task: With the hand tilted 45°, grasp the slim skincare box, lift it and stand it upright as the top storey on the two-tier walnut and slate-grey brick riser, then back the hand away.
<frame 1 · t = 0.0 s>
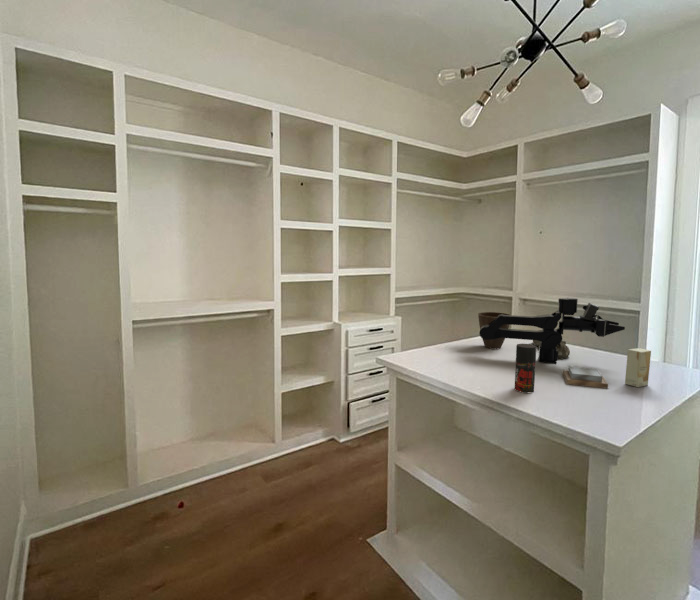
hand: (621, 326, 154), 17 cm above the table, tool horizontal, fingers open, 9 cm apart
skincare box: (636, 385, 136), on the table
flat: (550, 350, 185), on the table
deodorant: (524, 390, 131), on the table
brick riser: (584, 380, 140), on the table
plant pot: (493, 347, 191), on the table
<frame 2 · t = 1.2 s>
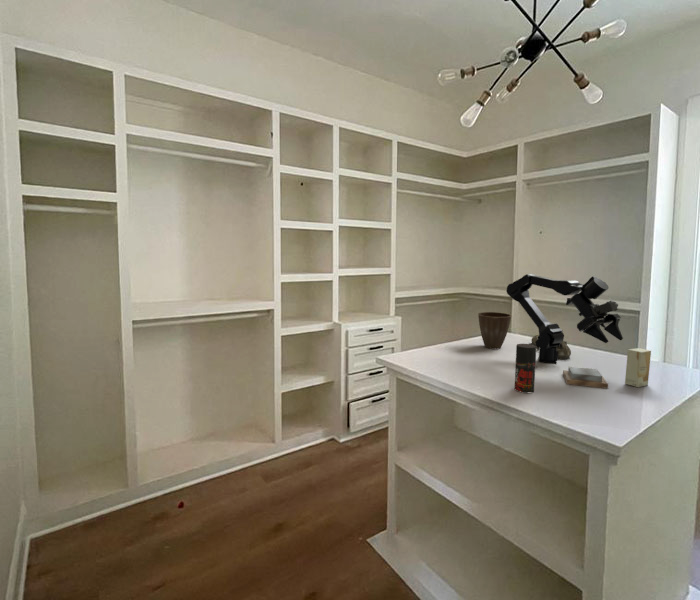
hand: (614, 341, 141), 14 cm above the table, tool tilted 45°, fingers open, 9 cm apart
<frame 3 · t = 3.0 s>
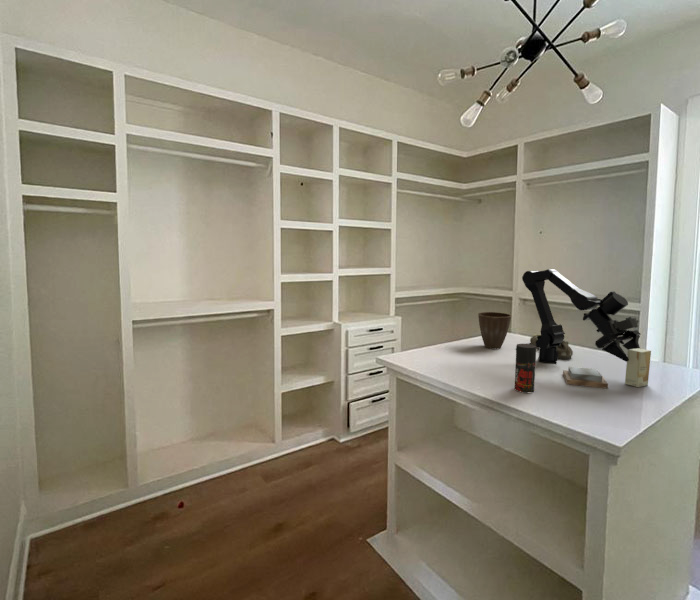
hand: (635, 359, 136), 9 cm above the table, tool tilted 45°, fingers open, 9 cm apart
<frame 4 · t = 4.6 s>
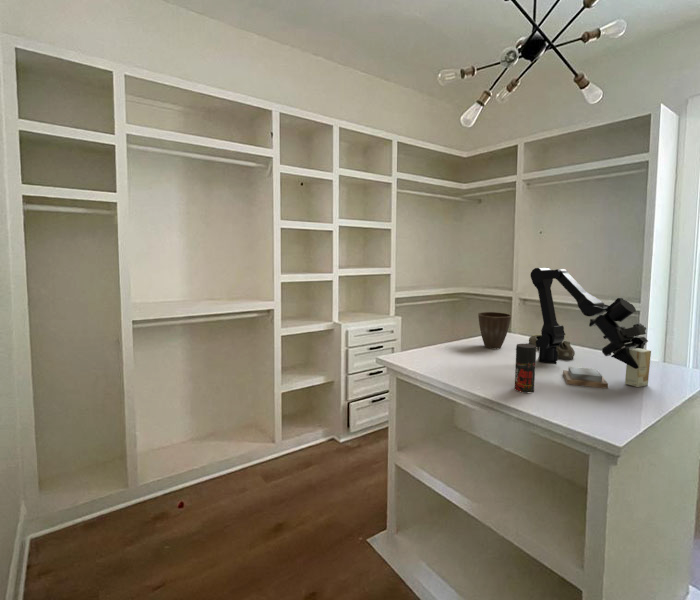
hand: (642, 366, 134), 7 cm above the table, tool tilted 45°, fingers closed on skincare box, 6 cm apart
skincare box: (636, 385, 136), on the table, touching gripper
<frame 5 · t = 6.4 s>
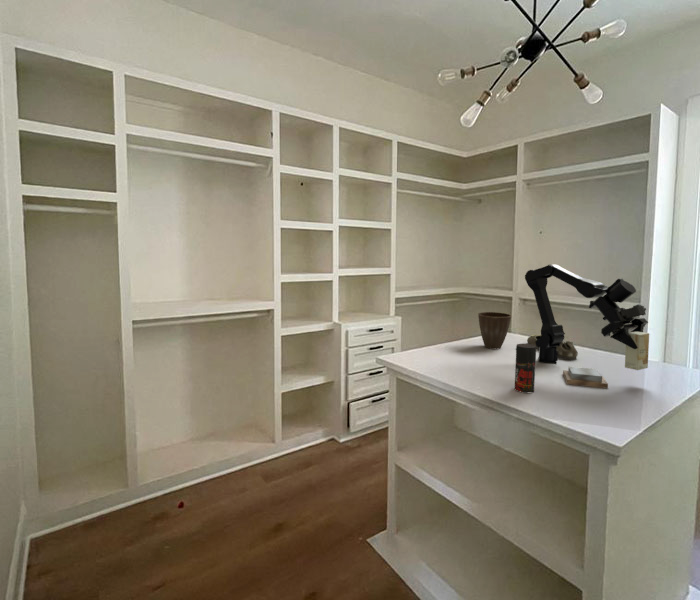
hand: (641, 347, 133), 13 cm above the table, tool tilted 45°, fingers closed on skincare box, 6 cm apart
skincare box: (636, 368, 135), point 6 cm above the table, touching gripper
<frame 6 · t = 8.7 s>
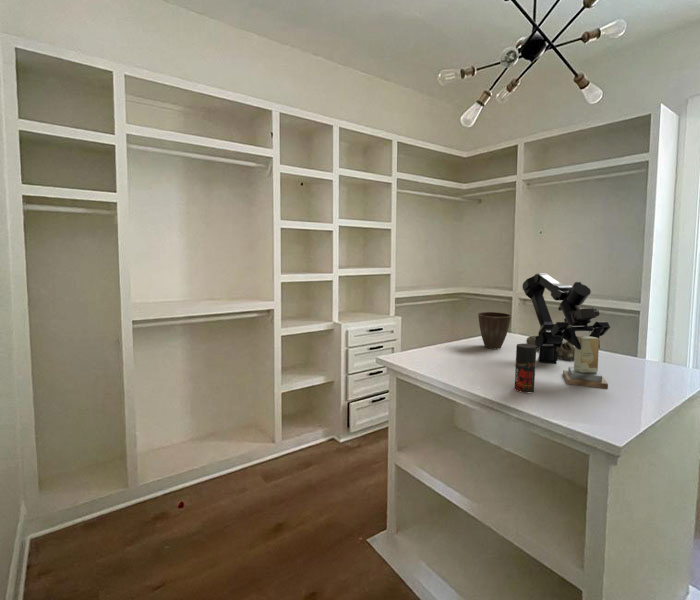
hand: (589, 349, 137), 12 cm above the table, tool tilted 45°, fingers closed on skincare box, 6 cm apart
skincare box: (585, 371, 139), point 3 cm above the table, touching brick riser, gripper
when the fingers open (12 cm above the table, at t = 9.5 s): skincare box stays where it is, resting on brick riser.
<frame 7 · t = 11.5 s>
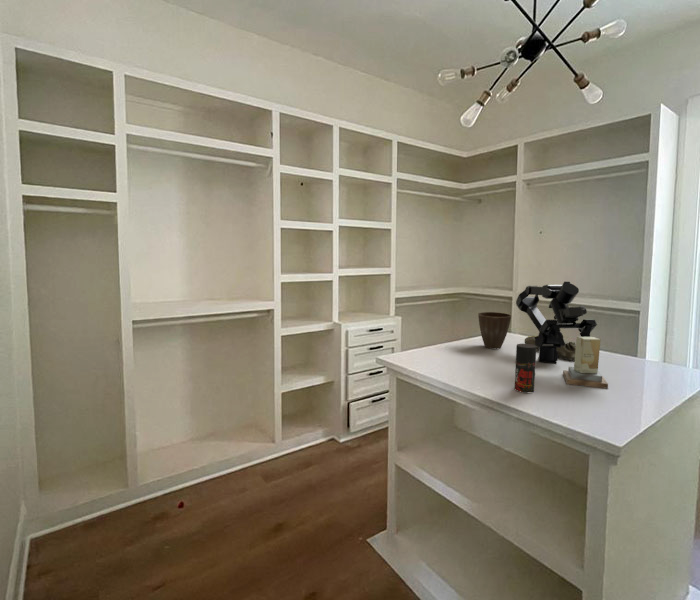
hand: (576, 345, 145), 11 cm above the table, tool tilted 45°, fingers open, 9 cm apart
skincare box: (585, 372, 139), point 3 cm above the table, touching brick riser
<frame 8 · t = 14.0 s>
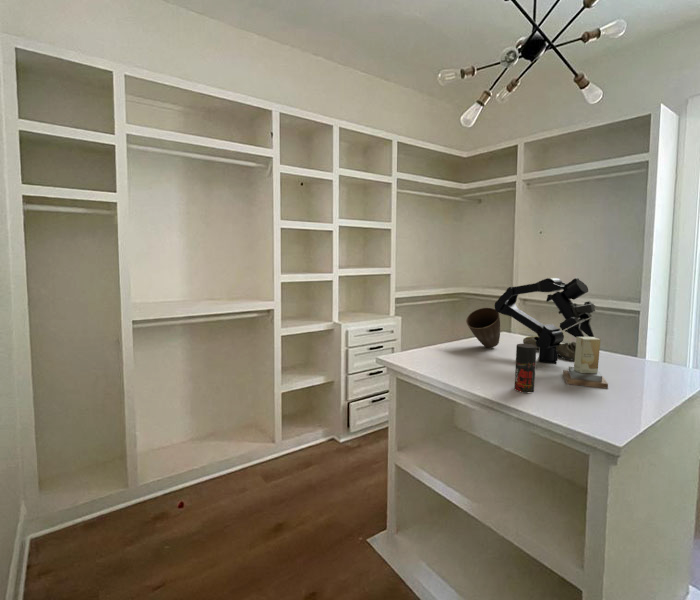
hand: (589, 339, 153), 12 cm above the table, tool tilted 35°, fingers open, 9 cm apart
plant pot: (491, 343, 191), point 2 cm above the table, touching arm
at the end: skincare box inside the target area on the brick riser (0.6 cm from its centre), point 3.3 cm above the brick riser's base; skincare box tilted 0°; the gripper is holding nothing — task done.
